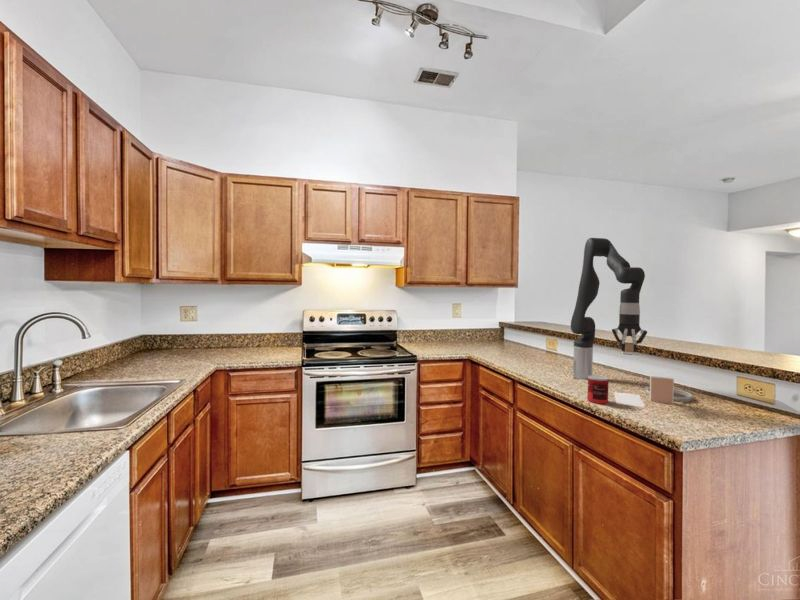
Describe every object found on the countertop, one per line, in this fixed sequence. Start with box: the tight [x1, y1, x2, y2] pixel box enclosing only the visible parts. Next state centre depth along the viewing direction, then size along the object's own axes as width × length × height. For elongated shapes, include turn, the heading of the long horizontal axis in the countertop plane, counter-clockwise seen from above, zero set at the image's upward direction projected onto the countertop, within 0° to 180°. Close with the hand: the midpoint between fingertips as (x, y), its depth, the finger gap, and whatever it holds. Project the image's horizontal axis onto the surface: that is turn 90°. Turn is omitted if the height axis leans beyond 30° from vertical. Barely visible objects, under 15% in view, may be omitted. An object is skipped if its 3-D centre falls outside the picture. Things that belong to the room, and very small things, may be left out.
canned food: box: [587, 374, 609, 405], centre depth 155 cm, size 8×8×11 cm
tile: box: [649, 375, 675, 405], centre depth 154 cm, size 8×2×11 cm, turn 63°
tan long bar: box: [620, 341, 641, 356], centre depth 158 cm, size 15×6×5 cm, turn 153°
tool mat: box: [613, 391, 646, 408], centre depth 158 cm, size 10×19×1 cm, turn 153°
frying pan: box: [638, 382, 694, 403], centre depth 168 cm, size 17×3×28 cm
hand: (628, 352), depth 160 cm, fingers closed on tan long bar, 2 cm apart
